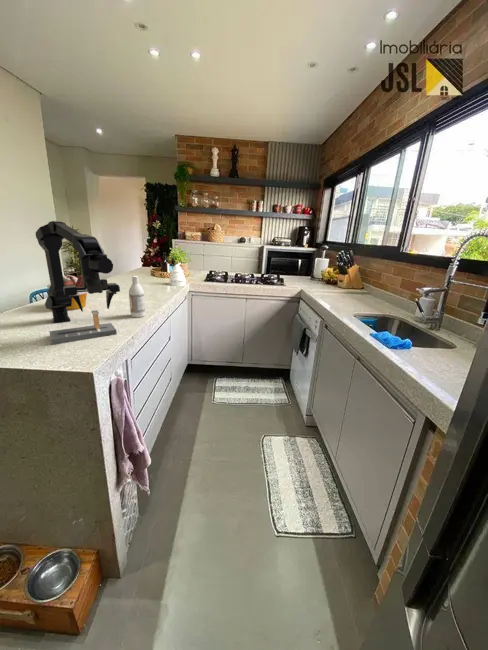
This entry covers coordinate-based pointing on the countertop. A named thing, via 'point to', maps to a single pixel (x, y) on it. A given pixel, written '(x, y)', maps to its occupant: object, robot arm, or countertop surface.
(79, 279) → the bucket of meat
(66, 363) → the countertop surface
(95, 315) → the fader tab
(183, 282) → the honey pot
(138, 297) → the bath foam
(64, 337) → the console
